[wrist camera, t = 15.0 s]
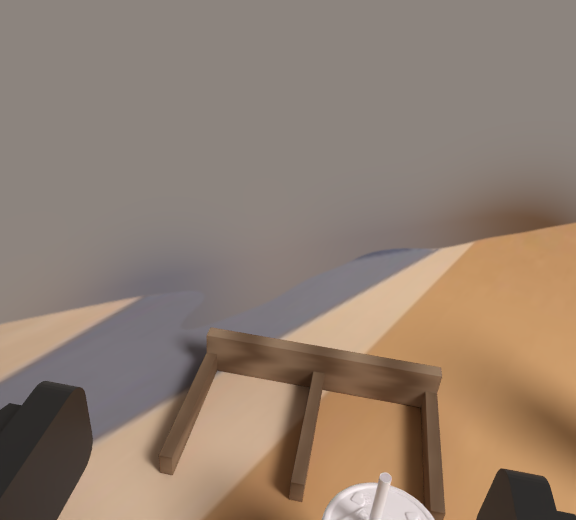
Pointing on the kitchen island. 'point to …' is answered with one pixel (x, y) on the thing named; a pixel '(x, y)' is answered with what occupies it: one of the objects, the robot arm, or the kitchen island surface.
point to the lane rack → (317, 395)
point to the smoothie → (375, 503)
